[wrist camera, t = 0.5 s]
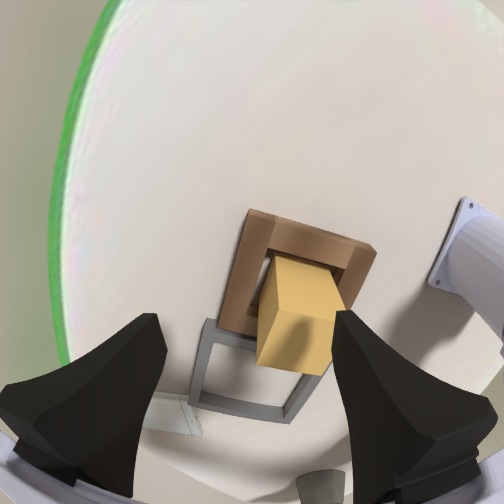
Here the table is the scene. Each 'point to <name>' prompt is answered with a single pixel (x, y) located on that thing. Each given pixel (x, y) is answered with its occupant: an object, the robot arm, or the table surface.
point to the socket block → (297, 243)
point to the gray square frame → (237, 406)
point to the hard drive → (172, 415)
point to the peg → (297, 316)
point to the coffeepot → (322, 487)
